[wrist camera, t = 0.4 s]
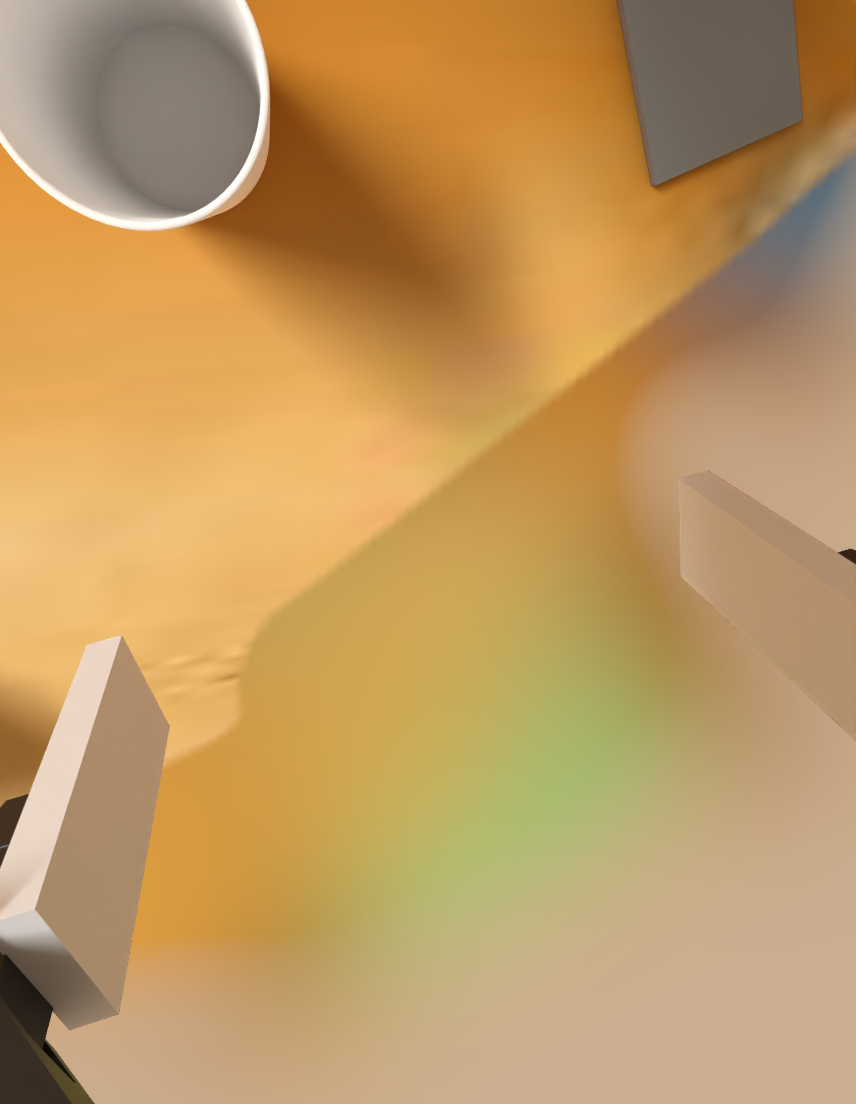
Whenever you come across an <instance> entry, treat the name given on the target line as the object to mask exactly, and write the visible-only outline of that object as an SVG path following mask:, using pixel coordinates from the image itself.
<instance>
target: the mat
mask: <svg viewBox="0 0 856 1104" xmlns="http://www.w3.org/2000/svg"><path fill="white" fill-rule="evenodd" d="M617 4H618V9H619V15H620V20H621V25H622V31H623V36H624V42H625V47H626V52H627V58H628V63H629V69H630V74H631V79H632V85H633V90H634V96H635V101H636V106H637V112H638V117H639V122H640V128H641V133H642V139H643V144H644V149H645V155H646V160H647V166H648V171H649V176H650V182H651V185H658V184H660V183H663V182H665V181H667V180H669V179H672V178H674V177H676V176H678V175H681V174H683V173H685V172H687V171H690V170H692V169H694V168H696V167H699V166H701V165H703V164H705V163H708V162H710V161H712V160H714V159H717V158H719V157H721V156H723V155H726V154H728V153H730V152H732V151H734V150H737V149H739V148H741V147H743V146H746V145H748V144H750V143H752V142H755V141H757V140H759V139H761V138H764V137H766V136H768V135H770V134H773V133H775V132H777V131H779V130H782V129H784V128H786V127H788V126H791V125H793V124H795V123H797V122H800V121H802V120H803V118H802V105H801V92H800V80H799V67H798V55H797V42H796V30H795V17H794V5H793V0H617Z"/></svg>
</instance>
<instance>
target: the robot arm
mask: <svg viewBox="0 0 856 1104" xmlns="http://www.w3.org/2000/svg"><path fill="white" fill-rule="evenodd" d="M679 523H680V524H679V527H680V576H681V577H682V578H683V579H684V580H685V581H686V582H687V583H688V584H689V585H690V586H691V587H692V588H693V589H694V590H695V591H697V592H698V593H699V594H700V595H701V596H702V597H703V598H704V599H705V600H706V601H707V602H708V603H709V604H710V605H712V606H713V607H714V608H715V609H716V610H717V611H718V612H719V613H720V614H721V615H722V616H723V617H724V618H725V619H726V620H727V621H729V622H730V623H731V624H732V625H733V626H734V627H735V628H736V629H737V630H738V631H739V632H740V633H741V634H742V635H743V636H744V637H746V638H747V639H748V640H749V641H750V642H751V643H752V644H753V645H754V646H755V647H756V648H757V649H758V650H760V652H762V653H763V654H764V655H765V656H766V657H767V658H768V659H769V660H770V661H771V662H772V663H774V665H775V666H776V667H778V668H779V669H780V670H781V671H782V672H783V673H784V674H785V675H786V676H787V677H788V678H789V679H790V680H791V681H792V682H794V683H795V684H796V685H797V686H798V687H799V688H800V689H801V690H802V691H803V692H804V693H805V694H806V695H807V696H808V697H810V698H811V699H812V700H813V701H814V702H815V703H816V704H817V705H818V706H819V707H820V708H821V709H822V710H823V711H825V712H826V713H827V714H828V715H829V716H830V717H831V718H832V719H833V720H834V721H835V722H836V723H837V724H838V725H839V726H840V727H842V728H843V729H844V730H845V731H846V732H847V733H848V734H849V735H850V736H851V737H852V738H853V739H854V740H855V741H856V550H853V549H848V550H845V551H841V552H838V553H837V552H835V551H834V550H832V549H831V548H829V547H828V546H826V545H825V544H823V543H821V542H820V541H818V540H817V539H815V538H813V537H812V536H810V535H809V534H807V533H806V532H804V531H803V530H801V529H800V528H798V527H796V526H795V525H793V524H792V523H790V522H789V521H787V520H785V519H784V518H782V517H781V516H779V515H778V514H776V513H774V512H773V511H771V510H770V509H768V508H767V507H765V506H764V505H762V504H760V503H759V502H757V501H756V500H754V499H753V498H751V497H750V496H748V495H746V494H744V493H743V492H741V491H740V490H738V489H737V488H735V487H734V486H732V485H731V484H729V483H727V482H726V481H725V480H723V479H721V478H720V477H718V476H717V475H715V474H713V473H712V472H710V471H705V472H702V473H698V474H694V475H691V476H687V477H684V478H680V479H679ZM169 727H170V726H169V724H168V722H167V720H166V718H165V716H164V714H163V713H162V711H161V709H160V707H159V705H158V703H157V701H156V699H155V697H154V695H153V693H152V692H151V690H150V688H149V686H148V684H147V682H146V680H145V678H144V676H143V674H142V673H141V671H140V669H139V667H138V665H137V663H136V661H135V659H134V657H133V655H132V653H131V652H130V650H129V648H128V646H127V644H126V642H125V640H124V638H123V636H122V635H120V636H117V637H113V638H110V639H106V640H102V641H99V642H95V643H92V644H88V645H87V646H86V648H85V651H84V654H83V656H82V659H81V661H80V664H79V666H78V669H77V672H76V674H75V677H74V679H73V682H72V684H71V687H70V690H69V692H68V695H67V697H66V700H65V703H64V705H63V708H62V710H61V713H60V715H59V718H58V721H57V723H56V726H55V728H54V731H53V734H52V736H51V739H50V741H49V744H48V746H47V749H46V752H45V754H44V757H43V759H42V762H41V765H40V767H39V770H38V772H37V775H36V777H35V780H34V783H33V785H32V788H31V790H30V793H29V794H27V795H24V796H20V797H17V798H14V799H10V800H7V801H5V803H4V804H3V805H2V806H1V808H0V1104H94V1102H93V1101H92V1100H91V1098H90V1097H89V1095H88V1094H87V1093H86V1092H85V1090H84V1089H83V1087H82V1086H81V1085H80V1083H79V1082H78V1081H77V1079H76V1078H75V1076H74V1075H73V1074H72V1072H71V1071H70V1070H69V1068H68V1067H67V1066H66V1064H65V1063H64V1061H63V1060H62V1059H61V1057H60V1056H59V1055H58V1053H57V1052H56V1051H55V1049H54V1048H53V1047H52V1046H51V1045H50V1044H49V1043H48V1042H47V1041H46V1039H45V1038H46V1034H47V1029H48V1026H49V1022H50V1018H51V1014H52V1011H53V1012H54V1013H55V1014H56V1016H57V1017H58V1018H59V1019H60V1020H61V1021H62V1022H63V1023H64V1024H65V1026H66V1027H67V1028H68V1029H69V1030H72V1029H75V1028H78V1027H81V1026H84V1025H87V1024H90V1023H93V1022H96V1021H99V1020H102V1019H105V1018H109V1017H112V1016H114V1015H117V1014H119V1011H120V1005H121V1000H122V993H123V988H124V983H125V977H126V971H127V965H128V960H129V954H130V948H131V942H132V937H133V931H134V925H135V920H136V914H137V908H138V903H139V897H140V891H141V886H142V880H143V874H144V869H145V863H146V857H147V852H148V846H149V840H150V835H151V828H152V823H153V818H154V811H155V806H156V800H157V795H158V789H159V783H160V778H161V772H162V766H163V761H164V755H165V749H166V744H167V738H168V732H169Z"/></svg>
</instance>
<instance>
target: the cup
mask: <svg viewBox="0 0 856 1104" xmlns="http://www.w3.org/2000/svg"><path fill="white" fill-rule="evenodd" d="M269 140H270V83H269V74H268V66H267V61H266V56H265V51H264V47H263V44H262V40H261V37H260V33H259V31H258V28H257V25H256V22H255V20H254V17H253V15H252V13H251V11H250V8H249V6H248V4H247V2H246V0H0V142H1V144H2V145H3V147H4V148H5V149H6V151H7V152H8V153H9V154H10V156H11V157H12V158H13V160H14V161H15V162H16V163H17V164H18V165H19V166H20V167H21V169H22V170H23V171H24V172H25V173H26V174H27V175H28V176H29V177H30V178H31V179H32V180H33V181H34V182H35V183H37V184H38V185H39V186H40V187H41V188H42V189H44V190H45V191H46V192H47V193H49V194H50V195H51V196H53V197H54V198H55V199H57V200H58V201H60V202H61V203H63V204H64V205H66V206H68V207H70V208H71V209H73V210H75V211H77V212H78V213H81V214H83V215H85V216H87V217H89V218H91V219H94V220H96V221H99V222H102V223H105V224H108V225H111V226H115V227H119V228H123V229H130V230H137V231H163V230H170V229H176V228H180V227H184V226H187V225H190V224H193V223H196V222H199V221H201V220H204V219H207V218H209V217H212V216H215V215H217V214H220V213H223V212H225V211H227V210H229V209H231V208H233V207H234V206H236V205H237V204H239V203H240V202H241V201H242V200H243V199H245V198H246V197H247V195H248V194H249V193H250V192H251V191H252V190H253V188H254V187H255V185H256V184H257V182H258V180H259V179H260V177H261V174H262V172H263V170H264V167H265V164H266V160H267V156H268V150H269Z"/></svg>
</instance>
